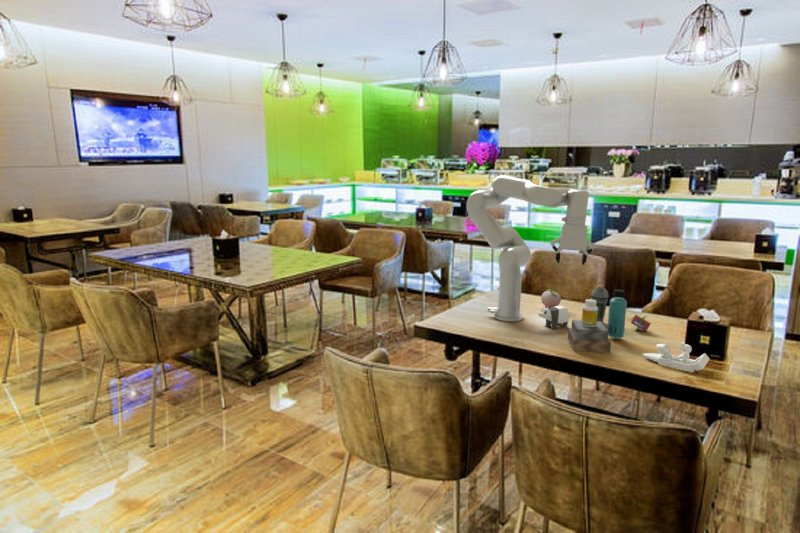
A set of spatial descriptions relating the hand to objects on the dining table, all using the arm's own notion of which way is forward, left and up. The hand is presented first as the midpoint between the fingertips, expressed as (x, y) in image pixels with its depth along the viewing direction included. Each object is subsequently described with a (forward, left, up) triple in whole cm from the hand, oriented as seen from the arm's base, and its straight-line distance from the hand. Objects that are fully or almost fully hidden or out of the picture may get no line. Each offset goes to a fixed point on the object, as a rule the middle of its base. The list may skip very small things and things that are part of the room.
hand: (570, 263), depth 210 cm
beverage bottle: (+18, -8, -29) cm, 34 cm away
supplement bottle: (+5, -17, -21) cm, 27 cm away
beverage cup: (+16, +13, -29) cm, 35 cm away
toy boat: (+31, -32, -29) cm, 53 cm away
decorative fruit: (-2, +29, -29) cm, 41 cm away
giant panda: (-4, +3, -29) cm, 29 cm away
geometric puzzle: (+31, +4, -29) cm, 42 cm away
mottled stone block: (+6, -17, -28) cm, 33 cm away
